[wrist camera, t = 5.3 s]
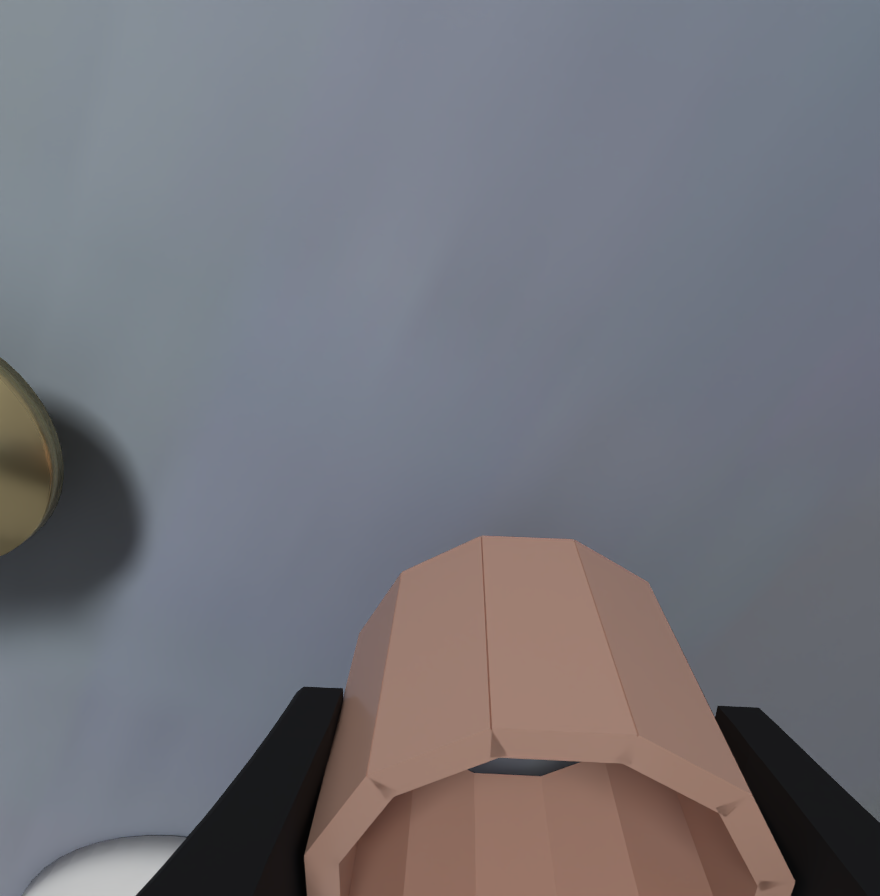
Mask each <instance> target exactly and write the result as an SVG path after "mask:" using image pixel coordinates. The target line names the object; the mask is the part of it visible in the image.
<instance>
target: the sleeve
mask: <svg viewBox="0 0 880 896" xmlns="http://www.w3.org/2000/svg"><path fill="white" fill-rule="evenodd" d="M497 758H518V759H538V760H559V761H579V763H577V764H574V765H571V766H568V767H566V768H563V769H560V770H557V771H554V772H552V773H549V774H546V775H543V776H524V775H503V774H483V773H473V772H471V771H469V770H467V769H470V768H473V767H475V766H478V765H481V764H483V763H486V762H489V761H491V760H494V759H497ZM304 863H305V875H306V888H307V896H791V893H792V890H793V888H794V885H795V880H794V878H793V876H792V874H791V872H790V870H789V868H788V866H787V864H786V862H785V859H784V857H783V855H782V853H781V851H780V849H779V847H778V845H777V843H776V841H775V839H774V837H773V835H772V833H771V831H770V829H769V827H768V825H767V823H766V821H765V819H764V817H763V815H762V813H761V811H760V808H759V806H758V804H757V802H756V800H755V798H754V796H753V794H752V792H751V790H750V788H749V786H748V784H747V782H746V780H745V778H744V776H743V774H742V772H741V770H740V768H739V766H738V764H737V762H736V760H735V757H734V755H733V753H732V751H731V749H730V747H729V745H728V743H727V741H726V739H725V737H724V735H723V733H722V731H721V729H720V727H719V725H718V723H717V721H716V719H715V717H714V715H713V713H712V711H711V708H710V706H709V704H708V702H707V700H706V698H705V696H704V694H703V692H702V690H701V688H700V686H699V684H698V682H697V680H696V678H695V676H694V674H693V672H692V670H691V668H690V666H689V664H688V662H687V659H686V657H685V655H684V653H683V651H682V649H681V647H680V645H679V643H678V641H677V639H676V637H675V635H674V633H673V631H672V629H671V627H670V625H669V623H668V621H667V619H666V617H665V615H664V613H663V611H662V609H661V607H660V605H659V603H658V601H657V599H656V597H655V595H654V593H653V591H652V589H651V587H650V585H649V583H648V582H647V581H645V580H644V579H642V578H640V577H638V576H637V575H635V574H633V573H631V572H630V571H628V570H626V569H624V568H623V567H621V566H619V565H618V564H616V563H614V562H612V561H611V560H609V559H607V558H605V557H604V556H602V555H600V554H599V553H597V552H595V551H593V550H592V549H590V548H588V547H586V546H585V545H583V544H581V543H580V542H578V541H576V540H573V539H552V538H527V537H502V536H482V537H481V536H480V537H477V538H475V539H473V540H471V541H469V542H466V543H464V544H462V545H460V546H458V547H455V548H453V549H451V550H449V551H447V552H445V553H442V554H440V555H438V556H436V557H434V558H431V559H429V560H427V561H425V562H423V563H420V564H418V565H416V566H414V567H412V568H409V569H407V570H405V571H403V572H402V573H401V574H400V575H399V577H398V578H397V580H396V581H395V582H394V584H393V585H392V587H391V588H390V590H389V591H388V593H387V594H386V595H385V597H384V598H383V600H382V601H381V603H380V604H379V606H378V607H377V608H376V610H375V611H374V613H373V614H372V616H371V617H370V619H369V620H368V621H367V623H366V624H365V626H364V627H363V629H362V630H361V632H360V633H359V636H358V640H357V644H356V648H355V652H354V656H353V660H352V665H351V669H350V673H349V677H348V681H347V685H346V689H345V693H344V697H343V703H342V707H341V711H340V715H339V719H338V723H337V728H336V732H335V736H334V740H333V744H332V748H331V752H330V756H329V759H328V762H327V766H326V770H325V773H324V778H323V782H322V786H321V790H320V794H319V798H318V802H317V806H316V810H315V814H314V818H313V822H312V826H311V830H310V834H309V838H308V842H307V846H306V850H305V854H304Z"/></svg>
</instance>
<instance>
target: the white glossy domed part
mask: <svg viewBox="0 0 880 896" xmlns="http://www.w3.org/2000/svg"><path fill="white" fill-rule="evenodd" d="M186 838H187V837H179V836H135V837H124V838H118V839H113V840H108V841H103V842H98V843H95V844H92V845H89V846H86V847H83V848H79V849H77V850H75V851H73V852H71V853H68V854H66V855H64V856H62V857H60V858H58V859H57V860H56V861H54V862H53V863H51V864H50V865H48V866H47V867H45V868H44V869H43V870H42V871H41V872H40V873H39V874H38V875H37V876H36V877H35V878H34V879H33V880H32V881H31V882H30V884H29V885H28V887H27V888H26V890H25V891H24V893H23V894H22V896H136V895H137V893H138V892H139V891H140V890H141V889H142V888H143V887H144V886H145V885H146V884H147V883H148V881H149V880H150V879H151V878H152V877H153V876H154V875H155V874H156V873H157V872H158V870H159V869H160V868H161V867H162V866H163V865H164V864H165V862H166V861H167V860H168V859H169V858H170V857H171V855H172V854H173V853H174V852H175V851H176V850H177V848H178V847H179V846H180V845H181V844H182V843H183V841H184V840H185V839H186Z"/></svg>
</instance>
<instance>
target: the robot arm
mask: <svg viewBox="0 0 880 896" xmlns="http://www.w3.org/2000/svg"><path fill="white" fill-rule="evenodd" d="M342 703H343V689H342V688H320V687H303V688H302V689H300V690H299V691H298V692H297V693H296V694H295V696H294V697H293V699H292V700H291V702H290V704H289V705H288V707H287V708H286V710H285V711H284V712H283V714H282V715H281V717H280V718H279V720H278V721H277V723H276V724H275V726H274V727H273V728H272V730H271V731H270V733H269V734H268V735H267V737H266V738H265V740H264V741H263V742H262V744H261V745H260V746H259V748H258V749H257V750H256V752H255V753H254V754H253V756H252V757H251V759H250V760H249V761H248V763H247V764H246V765H245V766H244V768H243V769H242V770H241V772H240V773H239V774H238V775H237V777H236V778H235V779H234V780H233V782H232V783H231V784H230V786H229V787H228V788H227V789H226V791H225V792H224V793H223V795H222V796H221V797H220V798H219V800H218V801H217V802H216V804H215V805H214V806H213V807H212V808H211V810H210V811H209V812H208V813H207V815H206V816H205V817H204V818H203V819H202V821H201V822H200V823H199V824H198V825H197V826H196V827H195V829H194V830H193V831H192V832H191V833H190V834H189V836H188V837H187V838H186V839H185V840H184V841H183V843H182V844H181V845H180V846H179V847H178V848H177V850H176V851H175V852H174V853H173V854H172V855H171V857H170V858H169V859H168V860H167V861H166V862H165V864H164V865H163V866H162V867H161V868H160V869H159V870H158V872H157V873H156V874H155V875H154V876H153V877H152V878H151V879H150V880H149V881H148V883H147V884H146V885H145V886H144V887H143V888H142V889H141V890H140V891H139V892H138V893H137V895H136V896H307V888H306V875H305V863H304V854H305V850H306V846H307V842H308V838H309V834H310V830H311V826H312V822H313V818H314V814H315V810H316V806H317V802H318V798H319V794H320V790H321V786H322V782H323V778H324V773H325V770H326V766H327V762H328V759H329V756H330V752H331V748H332V744H333V740H334V736H335V732H336V728H337V723H338V719H339V715H340V711H341V707H342ZM715 719H716V721H717V723H718V725H719V727H720V729H721V731H722V733H723V735H724V737H725V739H726V741H727V743H728V745H729V747H730V749H731V751H732V753H733V755H734V757H735V760H736V762H737V764H738V766H739V768H740V770H741V772H742V774H743V776H744V778H745V780H746V782H747V784H748V786H749V788H750V790H751V792H752V794H753V796H754V798H755V800H756V802H757V804H758V806H759V808H760V811H761V813H762V815H763V817H764V819H765V821H766V823H767V825H768V827H769V829H770V831H771V833H772V835H773V837H774V839H775V841H776V843H777V845H778V847H779V849H780V851H781V853H782V855H783V857H784V859H785V862H786V864H787V866H788V868H789V870H790V872H791V874H792V876H793V878H794V880H795V885H794V888H793V890H792V893H791V896H880V823H879V822H878V821H877V820H876V819H875V818H874V817H873V816H872V815H871V814H870V813H869V812H868V811H866V810H865V809H864V808H863V807H862V806H861V805H860V804H859V803H858V802H857V801H856V800H855V799H854V798H853V797H852V796H851V795H850V794H848V793H847V792H846V791H845V790H844V789H843V788H842V787H841V786H840V785H839V784H838V783H837V782H836V781H835V780H834V779H833V778H832V777H831V776H830V775H829V774H828V773H827V772H825V771H824V770H823V769H822V768H821V767H820V766H819V765H818V764H817V763H816V762H815V761H814V760H813V759H812V758H811V757H810V756H809V755H808V754H807V753H806V752H805V751H804V750H803V749H802V748H801V747H800V746H799V745H797V744H796V743H795V742H794V741H793V740H792V739H791V738H790V737H789V736H788V735H787V734H786V733H785V732H784V731H783V730H782V729H781V728H780V727H779V726H778V725H777V724H776V723H775V722H773V721H772V720H771V719H770V718H769V717H768V716H767V715H766V714H765V713H764V712H763V711H762V710H761V709H759V708H752V707H730V706H718V708H717V712H716V716H715Z"/></svg>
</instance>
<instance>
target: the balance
mask: <svg viewBox="0 0 880 896" xmlns="http://www.w3.org/2000/svg"><path fill="white" fill-rule="evenodd" d="M63 474H64V464H63V457H62V450H61V446H60V442H59V439H58V435H57V432H56V430H55V427H54V425H53V423H52V420H51V418H50V416H49V414H48V412H47V411H46V409H45V407H44V405H43V404H42V402H41V401H40V399H39V398H38V396H37V395H36V394H35V392H34V391H33V389H32V388H31V387H30V386H29V385H28V383H27V382H26V381H25V380H24V379H23V378H22V377H21V375H20V374H19V373H18V372H16V371H15V370H14V369H13V368H12V367H11V366H10V365H9V364H8V363H7V362H6V361H4V360H3V359H2V358H0V556H2V555H4V554H6V553H8V552H10V551H11V550H13V549H14V548H16V547H18V546H19V545H20V544H22V543H23V542H24V541H26V540H27V539H28V538H30V537H31V536H32V535H34V534H35V533H36V532H37V531H38V530H39V529H40V528H41V527H42V526H44V524H45V523H46V522H47V520H48V519H49V518H50V517H51V515H52V513H53V511H54V510H55V508H56V506H57V504H58V501H59V498H60V494H61V491H62V485H63Z"/></svg>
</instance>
